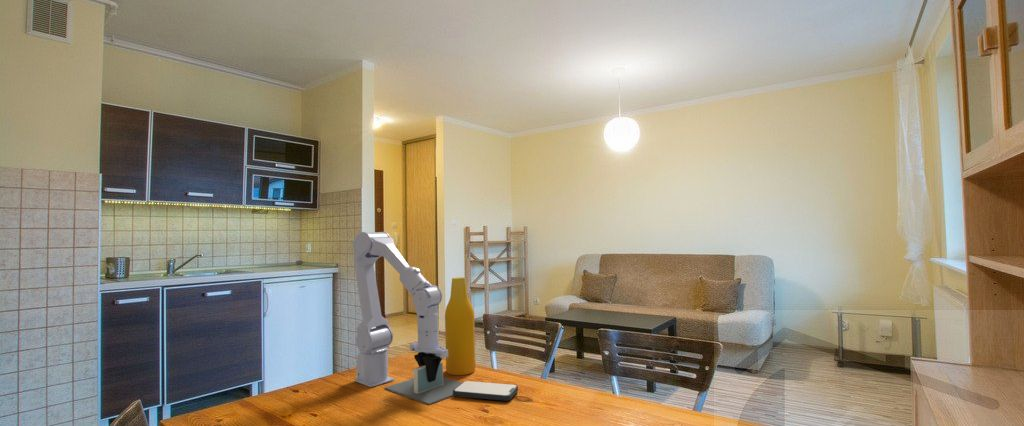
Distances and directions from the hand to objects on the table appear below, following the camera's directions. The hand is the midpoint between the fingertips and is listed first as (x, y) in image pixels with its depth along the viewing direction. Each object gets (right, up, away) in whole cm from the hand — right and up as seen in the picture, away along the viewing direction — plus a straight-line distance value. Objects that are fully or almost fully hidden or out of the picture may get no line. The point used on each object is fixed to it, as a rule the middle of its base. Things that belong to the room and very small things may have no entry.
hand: (429, 380), depth 126 cm
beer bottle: (+7, -3, +17) cm, 18 cm away
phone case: (+16, -2, -5) cm, 17 cm away
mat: (0, -3, +1) cm, 3 cm away
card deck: (0, -2, 0) cm, 2 cm away
